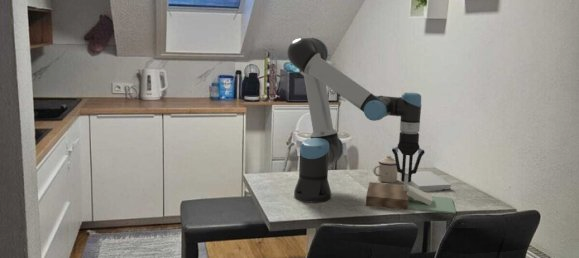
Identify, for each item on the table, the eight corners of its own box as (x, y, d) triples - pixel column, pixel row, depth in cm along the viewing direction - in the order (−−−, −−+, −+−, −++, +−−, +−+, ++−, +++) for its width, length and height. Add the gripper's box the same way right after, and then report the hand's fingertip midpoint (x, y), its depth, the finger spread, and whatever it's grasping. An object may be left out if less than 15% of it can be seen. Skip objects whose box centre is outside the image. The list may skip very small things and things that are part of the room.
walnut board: (365, 205, 206) (366, 196, 206) (368, 191, 226) (369, 182, 225) (407, 209, 203) (408, 200, 202) (406, 194, 222) (407, 185, 222)
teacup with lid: (390, 176, 249) (392, 152, 247) (401, 182, 240) (402, 157, 238) (368, 178, 245) (369, 154, 243) (377, 184, 236) (379, 158, 234)
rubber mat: (407, 209, 204) (407, 207, 204) (406, 195, 221) (407, 193, 221) (455, 213, 200) (455, 212, 200) (451, 199, 218) (451, 197, 218)
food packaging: (450, 191, 231) (429, 177, 250) (450, 184, 230) (429, 171, 249) (418, 193, 228) (399, 179, 247) (418, 186, 227) (400, 172, 246)
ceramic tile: (406, 194, 208) (408, 190, 208) (406, 188, 216) (408, 184, 215) (430, 205, 207) (432, 201, 207) (429, 199, 215) (431, 195, 214)
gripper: (392, 132, 205) (388, 190, 210) (426, 134, 203) (422, 193, 207) (392, 129, 212) (389, 185, 217) (426, 131, 210) (421, 188, 214)
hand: (405, 189), depth 212 cm, fingers closed
